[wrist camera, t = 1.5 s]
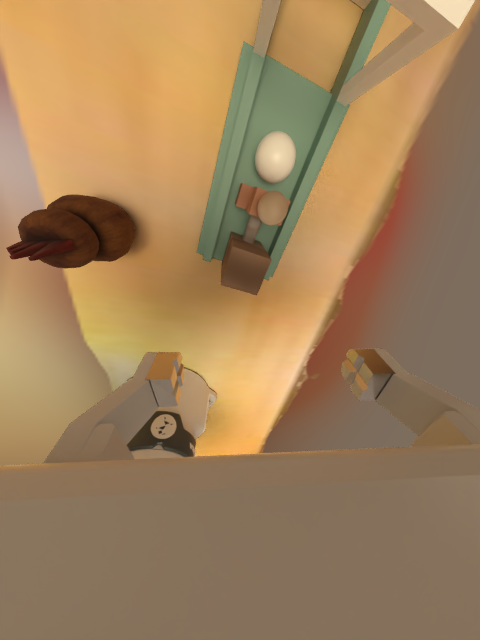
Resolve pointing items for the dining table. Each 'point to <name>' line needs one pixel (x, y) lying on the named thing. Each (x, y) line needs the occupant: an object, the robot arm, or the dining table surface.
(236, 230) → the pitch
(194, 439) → the robot arm
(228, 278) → the brown lever
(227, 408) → the dining table surface
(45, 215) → the wooden figurine
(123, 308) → the dining table surface
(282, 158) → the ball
